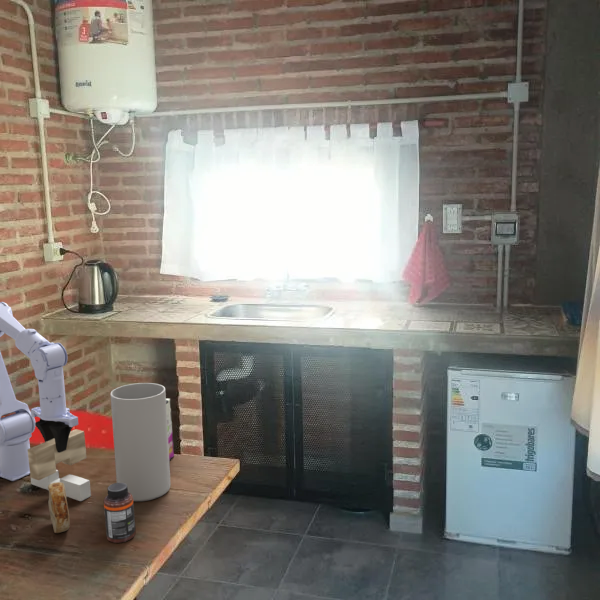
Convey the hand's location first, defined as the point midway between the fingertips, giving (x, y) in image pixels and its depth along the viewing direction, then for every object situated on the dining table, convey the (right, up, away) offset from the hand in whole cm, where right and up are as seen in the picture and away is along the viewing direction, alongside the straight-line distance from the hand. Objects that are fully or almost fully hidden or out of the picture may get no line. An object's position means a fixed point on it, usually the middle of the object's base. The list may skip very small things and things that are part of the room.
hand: (57, 449), depth 160 cm
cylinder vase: (+21, -10, +1) cm, 23 cm away
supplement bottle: (+21, -14, -20) cm, 32 cm away
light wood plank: (0, -5, +1) cm, 5 cm away
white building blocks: (0, -10, +2) cm, 10 cm away
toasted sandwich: (+7, -14, -16) cm, 22 cm away
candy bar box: (+21, -8, +16) cm, 27 cm away
